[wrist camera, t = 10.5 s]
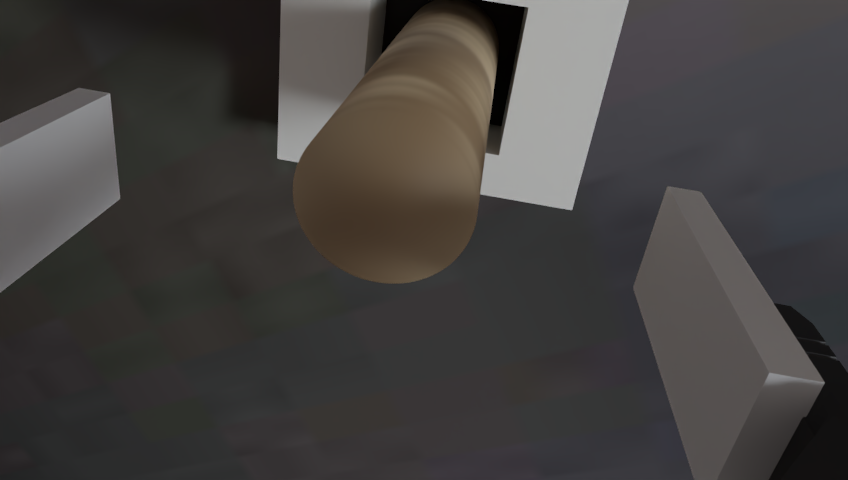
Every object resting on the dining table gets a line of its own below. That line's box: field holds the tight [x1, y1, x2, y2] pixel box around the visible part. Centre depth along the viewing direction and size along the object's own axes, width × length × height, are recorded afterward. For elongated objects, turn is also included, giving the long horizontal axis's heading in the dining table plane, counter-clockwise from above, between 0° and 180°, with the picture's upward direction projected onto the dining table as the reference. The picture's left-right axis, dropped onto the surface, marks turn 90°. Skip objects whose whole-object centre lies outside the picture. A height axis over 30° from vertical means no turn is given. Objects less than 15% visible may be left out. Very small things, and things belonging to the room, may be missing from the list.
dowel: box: [293, 0, 499, 284], centre depth 21 cm, size 4×4×15 cm
